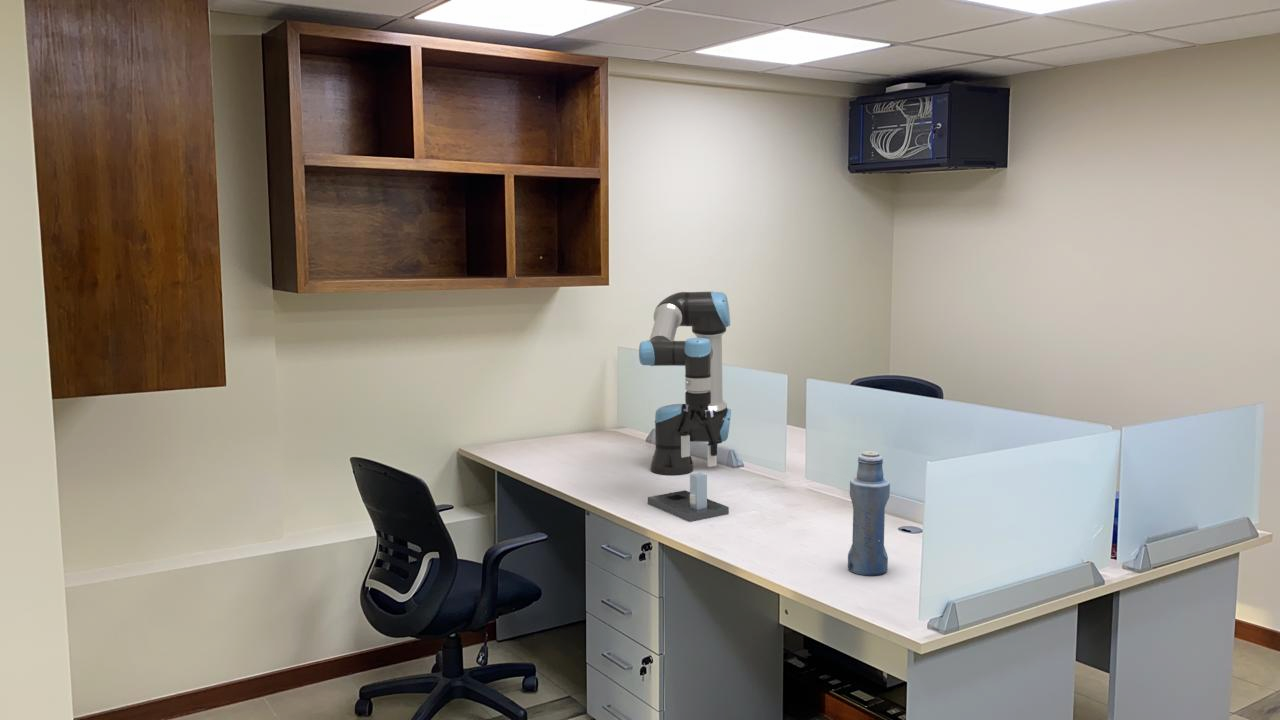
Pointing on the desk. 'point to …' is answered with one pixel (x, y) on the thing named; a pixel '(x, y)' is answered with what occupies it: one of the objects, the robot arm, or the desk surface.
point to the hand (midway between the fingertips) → (698, 461)
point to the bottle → (869, 516)
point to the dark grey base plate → (686, 506)
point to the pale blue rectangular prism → (698, 491)
